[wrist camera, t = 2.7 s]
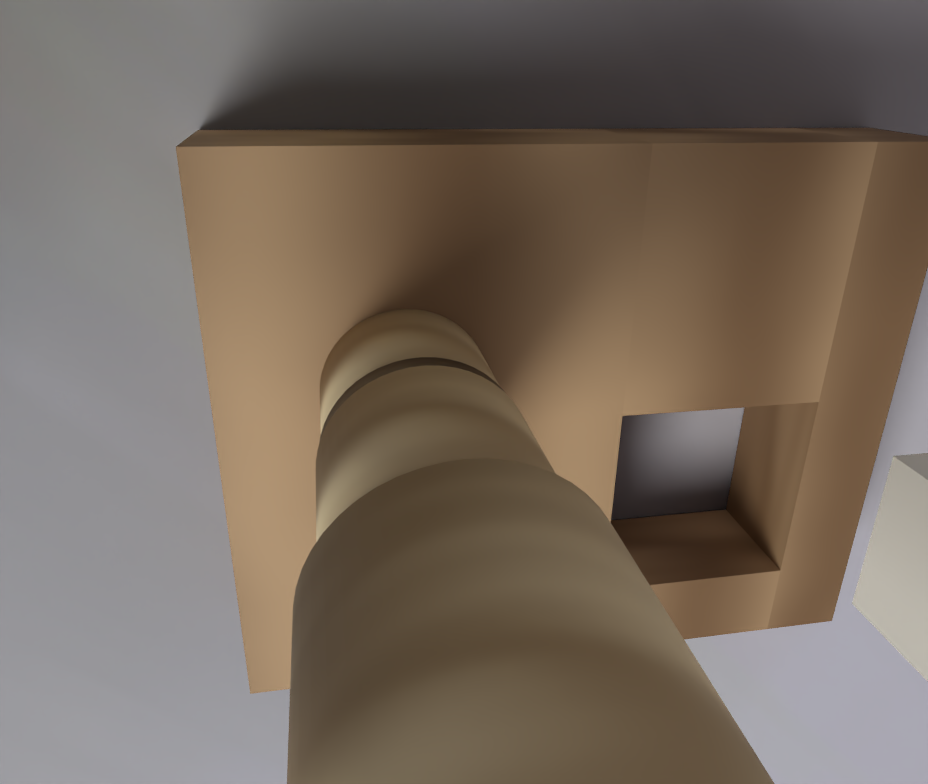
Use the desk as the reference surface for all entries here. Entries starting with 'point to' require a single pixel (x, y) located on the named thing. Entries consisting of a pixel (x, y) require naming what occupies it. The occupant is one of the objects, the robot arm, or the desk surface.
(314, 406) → the board
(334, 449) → the leg peg
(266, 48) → the desk surface
